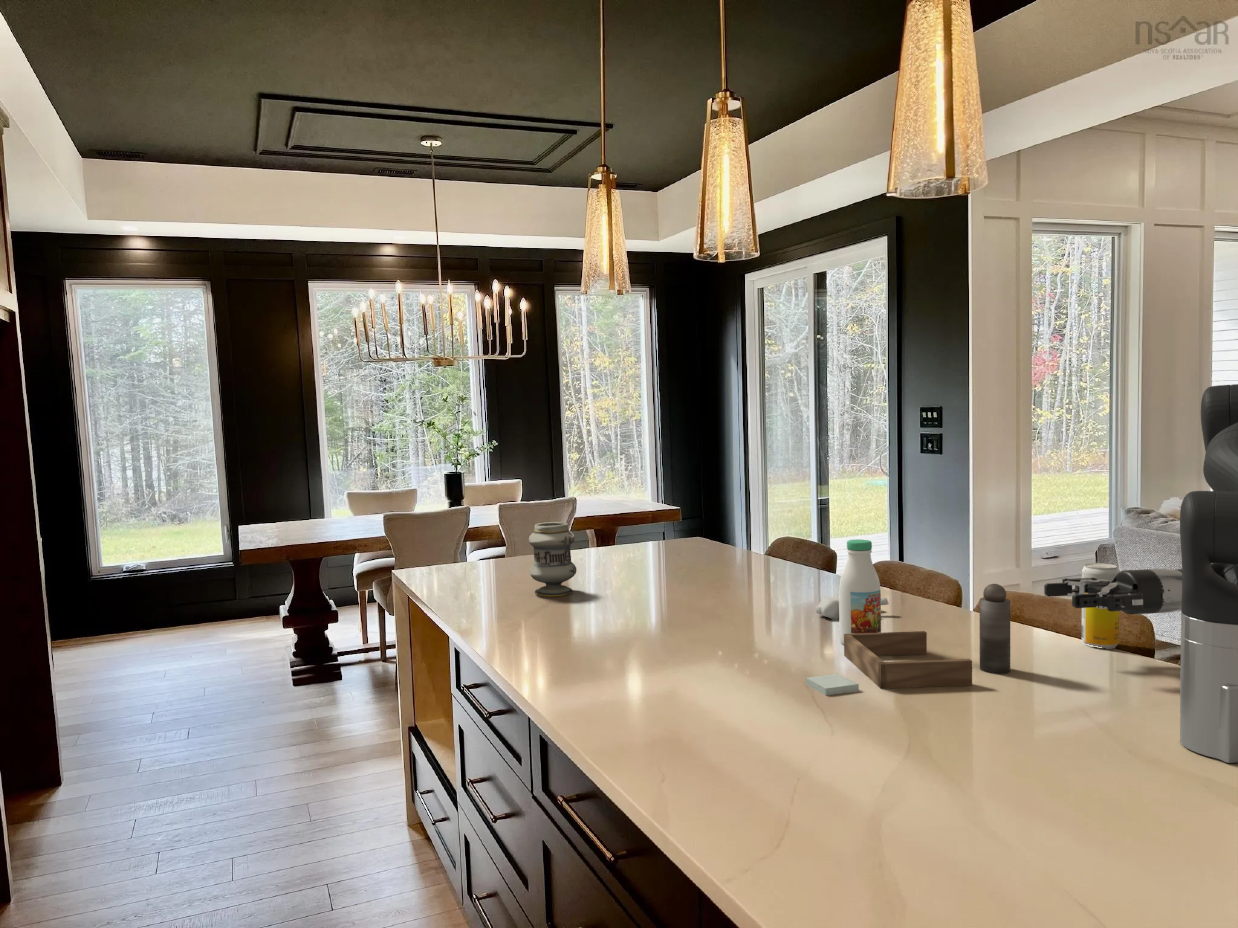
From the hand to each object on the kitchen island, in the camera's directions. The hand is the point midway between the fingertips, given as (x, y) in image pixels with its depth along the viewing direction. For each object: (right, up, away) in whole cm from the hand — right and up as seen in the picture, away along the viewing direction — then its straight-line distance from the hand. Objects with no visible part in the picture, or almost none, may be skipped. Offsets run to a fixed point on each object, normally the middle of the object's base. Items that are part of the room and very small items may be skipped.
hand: (1059, 595), depth 144 cm
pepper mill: (-11, -13, 0) cm, 17 cm away
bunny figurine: (-24, -11, +41) cm, 49 cm away
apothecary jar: (-92, -11, +74) cm, 118 cm away
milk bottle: (-29, -12, +18) cm, 36 cm away
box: (-26, -13, +1) cm, 29 cm away
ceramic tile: (-41, -14, -7) cm, 44 cm away
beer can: (+14, -12, +13) cm, 23 cm away
